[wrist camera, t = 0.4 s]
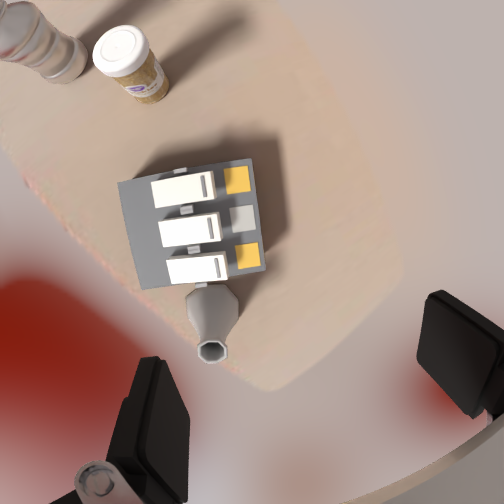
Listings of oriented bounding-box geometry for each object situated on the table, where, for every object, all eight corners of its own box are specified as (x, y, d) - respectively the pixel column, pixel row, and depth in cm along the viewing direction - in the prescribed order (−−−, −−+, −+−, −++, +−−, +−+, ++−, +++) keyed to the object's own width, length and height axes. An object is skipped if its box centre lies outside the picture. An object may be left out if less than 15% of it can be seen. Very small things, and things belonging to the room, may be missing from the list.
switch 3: (170, 256, 29) (165, 260, 28) (225, 250, 29) (222, 255, 27) (175, 279, 30) (171, 284, 29) (229, 274, 29) (227, 280, 28)
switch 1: (155, 181, 27) (150, 182, 26) (212, 170, 26) (209, 171, 25) (160, 206, 28) (154, 208, 27) (216, 197, 27) (213, 199, 26)
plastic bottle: (73, 95, 27) (-29, 55, 8) (44, 78, 25) (-51, 41, 6) (102, 54, 26) (22, -16, 7) (71, 39, 24) (-9, -20, 5)
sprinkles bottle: (138, 110, 29) (95, 80, 16) (130, 78, 28) (87, 38, 15) (174, 96, 29) (149, 56, 16) (165, 65, 28) (139, 15, 15)
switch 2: (162, 219, 28) (157, 222, 27) (219, 211, 27) (216, 214, 26) (167, 243, 29) (162, 247, 28) (223, 237, 28) (220, 241, 27)
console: (130, 180, 31) (111, 183, 25) (248, 158, 32) (255, 156, 26) (150, 274, 35) (138, 296, 29) (260, 256, 36) (270, 275, 30)
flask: (229, 275, 36) (234, 313, 27) (246, 321, 39) (256, 367, 29) (176, 292, 36) (165, 333, 27) (197, 336, 38) (194, 384, 29)
